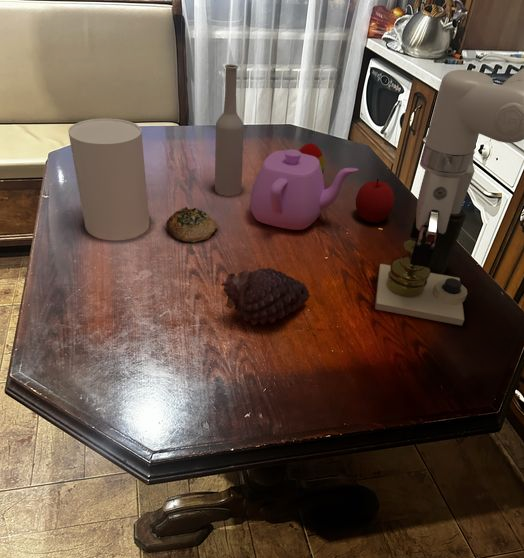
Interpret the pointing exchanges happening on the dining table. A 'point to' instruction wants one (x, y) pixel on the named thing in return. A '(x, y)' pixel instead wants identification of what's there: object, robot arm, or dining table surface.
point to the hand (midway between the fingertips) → (418, 251)
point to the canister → (110, 177)
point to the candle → (451, 226)
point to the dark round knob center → (452, 286)
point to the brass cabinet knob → (407, 274)
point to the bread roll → (191, 225)
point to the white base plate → (422, 299)
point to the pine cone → (264, 294)
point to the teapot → (292, 190)
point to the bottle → (229, 141)
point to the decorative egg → (313, 153)
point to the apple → (375, 201)
